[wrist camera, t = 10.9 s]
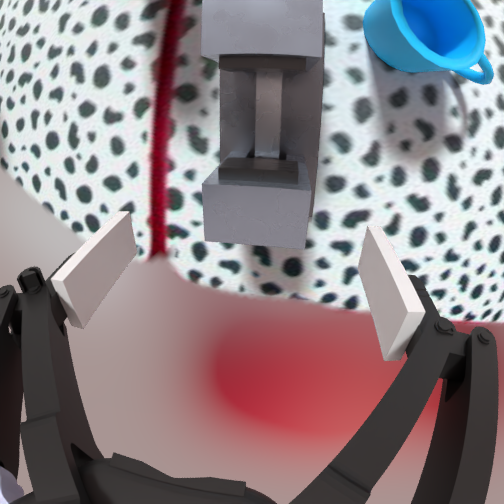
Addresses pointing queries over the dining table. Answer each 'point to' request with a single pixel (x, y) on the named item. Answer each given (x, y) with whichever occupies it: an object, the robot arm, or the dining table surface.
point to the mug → (428, 36)
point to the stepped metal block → (257, 201)
